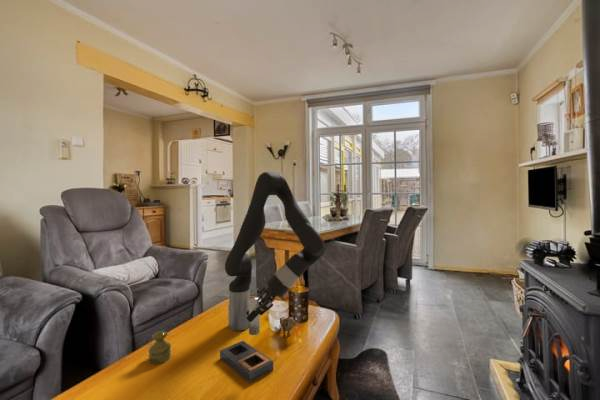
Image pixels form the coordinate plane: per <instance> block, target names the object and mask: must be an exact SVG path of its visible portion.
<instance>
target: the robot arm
mask: <svg viewBox="0 0 600 400" xmlns="http://www.w3.org/2000/svg"><path fill="white" fill-rule="evenodd" d="M270 196H276V197H277V198H278V199H279V200H280V201H281V203H282V204H283V208H284V217H285V220H286V222H287V223H288V225H289V227H290V229H291V230H292V232H293V233H294V234H295V235H296V237H297V238H298V241H300V243H301V245H302V247H303V248H302V249H301V250H300V251H299V252H298V253H294V254H293V255H291V257H290V258H289V259H288V260H287V261H286V262H285V263H284V264H283V265H282V266H280V267H279V268H278V269H277V270H276V271H275V273H273V275H272V276H271V277H270V278H269V279H268V280H267V281H266V286H267V288H265V286H264V287H263V288H262V289H261V290H260V292H258V294H257V296H256V297H259V302H258V305H257V306H256V307H255V309H254V310H253V311H252V312H251V313H250V314H249V298H250V296H251V295H250V293H251V291H250V288H251V286H250V285H251V283H252V272H253V262H252V259H251V257H250V255H249V254H248V253H247V252H248V251H249V250H250V249H251V248H252V247H253V246H254V245H255V244H256V243H257V241H259V239H260V238H261V236H262V235H263V234H262V233H263V232H264V229H265V227H266V224H267V223H266V215H265V205H266V202H267V200H268V198H269V197H270ZM244 216H245V217H244V219H243V222H242V223H241V227H240V229H239V232H238V234H237V237H236V239H235V241H234V244H233V246H232V248H231V250H230V251H229V253H228V255H227V257H226V260H225V263H224V270H225V274H227V276H229V277H235V278H234V279H233V280H232V281H231V282H230V283H229V285H228V309H227V310H228V315H227V316H228V328H229V330H232V331H237V332H239V331H244V330H246V329H249V322H252V321H253V320H254V319H255V318H256V317H257V316H258V314H259V316H263V315H264V314H265V313H267V311H269V310H270V309H271V308H273V307H274V304H273V302H274V301H275V299H276V297H279V298H283V297H284V296H285V295H286V294H287V293H288V291H290V289H291V288H292V287H293V286H294V285H295V284H296V283H297V281H298V280H299V278H300V277H302V275H304V273H305V272H306V271H307V269H308V268H309V267H311V266H312V265H314V264H315V263H316V262H317V261H318V260H319V259H320V258H322V256H323V255H324V253H325V251H326V244H325V242H324V240H323V238H322V237H321V236H320V234H319V233H318V232H317V230H316V229H315V228H314V227H313V226H312V224H311V222H310V220H309V219H308V217H307V216H306V214H305V213H304V212H303V210H302V209H301V207H300V205H299V204H298V202H297V200H296V198H295V196H294V194H293V192H292V190H291V188H290V185H289V184H288V182H287V180H286V178H285V177H284V175H283V174H281V173H278V172H271V171H270V172H269V171H267V172H266V171H264V172H262V173H260V174H259V176H258V177H257V180H256V182H255V186H254V188H253V193H252V196H251V200H250V203H249V206H248V208H247V211H246V214H245V215H244Z"/></svg>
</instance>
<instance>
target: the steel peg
mask: <svg viewBox="0 0 600 400" xmlns="http://www.w3.org/2000/svg"><path fill="white" fill-rule="evenodd" d="M258 302H259V297H257V296H255V295H253V296H251V297H250V298H249V314H250V313H251V312H252V311H253V310H254V309H255V307H256V306H257V305H258ZM259 334H260V315H259V314H258V316H257V317H256V318H255V319H254V320H253V321H252V322H249V327H248V335H250V336H256V335H259Z"/></svg>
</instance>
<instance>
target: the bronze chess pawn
mask: <svg viewBox="0 0 600 400" xmlns="http://www.w3.org/2000/svg"><path fill="white" fill-rule="evenodd" d="M167 336H168V333H167V331H164V330H163V331H162V330H160V331H159V330H158V331H157V332H155V333H153V334H152V335H151V339H152V340H155V341H154V343H153V344H151V345H150V347H149V348H148V362H149V363H150V364H153V365H159V364H163V363H165V362H167V361H168V360H170V358H171V356H172V354H171V352H172V349H171V348H172V345H171V343H170V342H168V341H166V340H165V338H167Z"/></svg>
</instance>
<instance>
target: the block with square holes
mask: <svg viewBox="0 0 600 400" xmlns="http://www.w3.org/2000/svg"><path fill="white" fill-rule="evenodd" d="M219 358H220V360H222V361H223V362H224V363H225V364H226V365H227V366H229V367H230V368H231V369H232V370H233V371H234V372H235V373H237V374H238V375H239V376H240V377H242V378H243V379H244V380H245V381H246V382H248V383H249V384H251V383H252V382H254V381H256V380H258V379H259V378H261V377H263V376H264V375H266V374H268V373H270V372H272V371H273V370H274V360H273V359H271V358H270V357H268V356H266V355H265V354H264V353H262V352H260V351H259V350H258V349H257V348H255V347H254V346H252V345H250V344H249V343H247V342H246V341H244V340H241V341H238V342H237V343H234V344H232V345H229V346H227V347H225V348H222V349H220V350H219ZM253 365H254V366H253Z"/></svg>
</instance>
